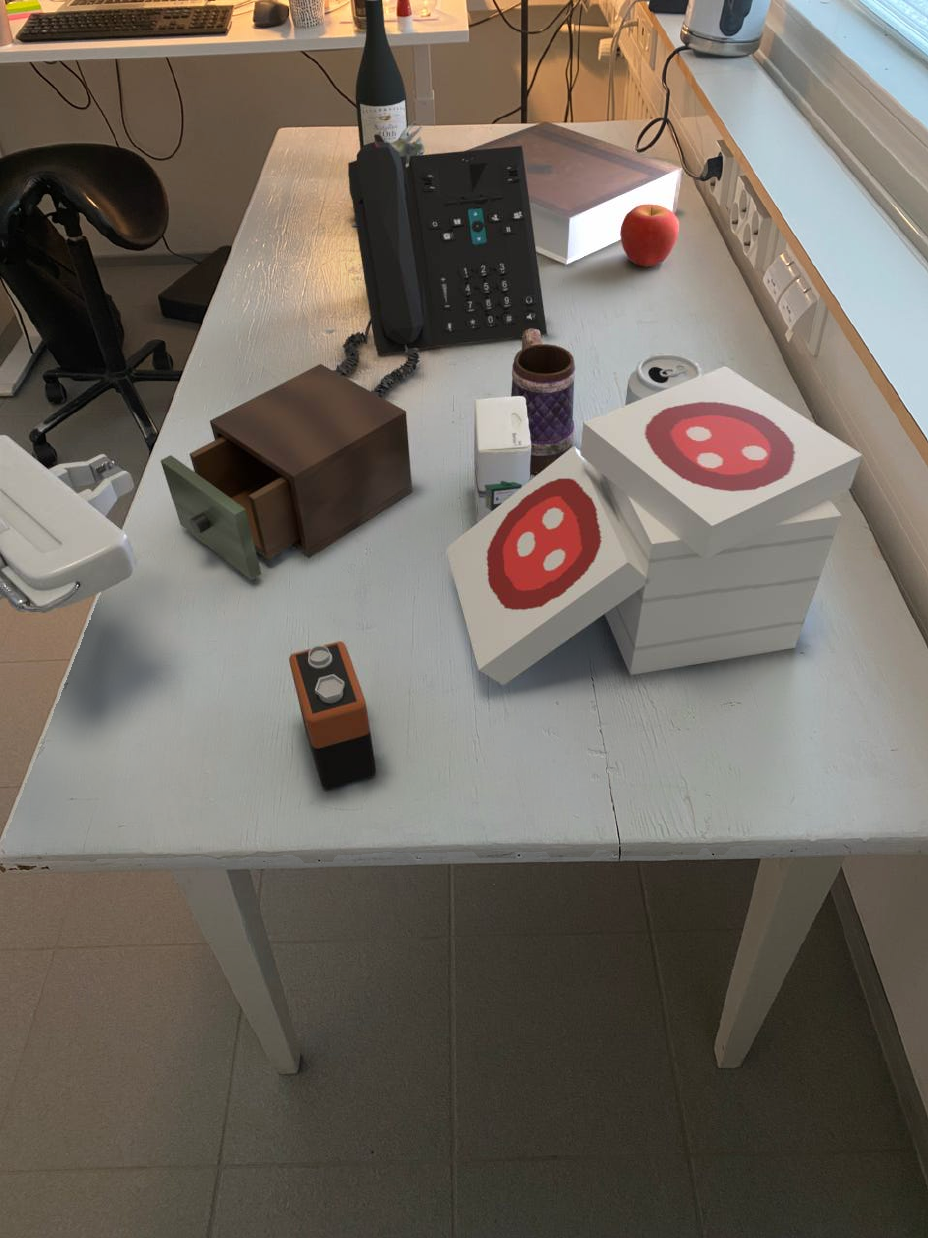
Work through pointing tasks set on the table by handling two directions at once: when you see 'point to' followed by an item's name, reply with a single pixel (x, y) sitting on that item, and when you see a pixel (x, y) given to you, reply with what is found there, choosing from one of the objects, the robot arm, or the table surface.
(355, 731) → the battery
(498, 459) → the ink box
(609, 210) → the book
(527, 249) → the office phone
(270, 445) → the cabinet
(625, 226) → the apple
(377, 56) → the wine bottle
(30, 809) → the table surface
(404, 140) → the toy dinosaur
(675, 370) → the can
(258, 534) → the drawer
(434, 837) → the table surface
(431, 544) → the table surface
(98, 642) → the table surface
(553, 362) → the mug
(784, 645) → the pizza boxes
